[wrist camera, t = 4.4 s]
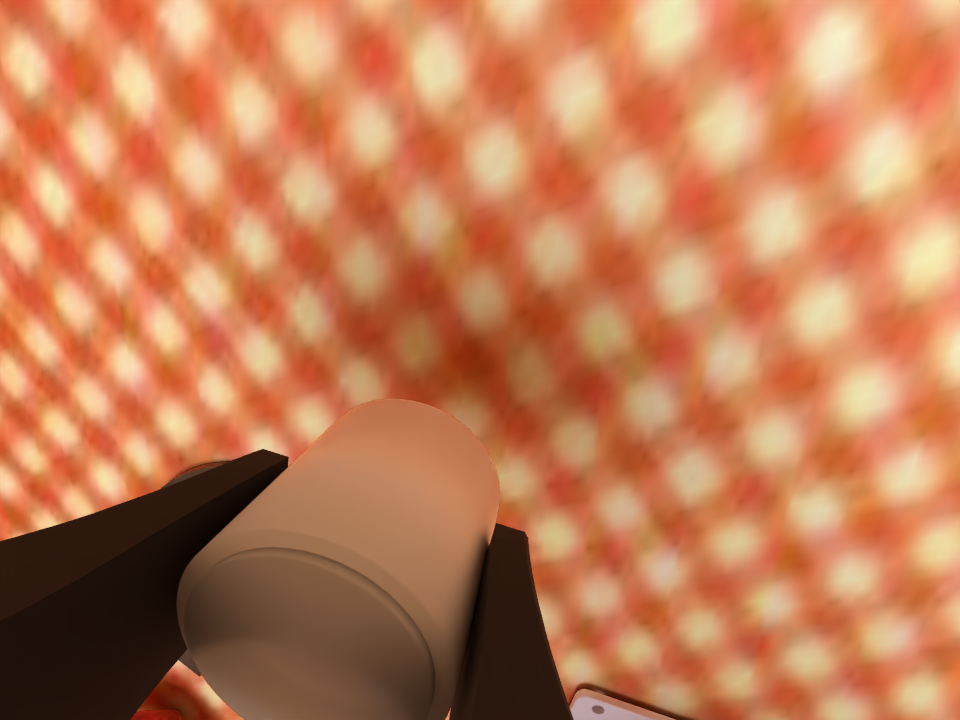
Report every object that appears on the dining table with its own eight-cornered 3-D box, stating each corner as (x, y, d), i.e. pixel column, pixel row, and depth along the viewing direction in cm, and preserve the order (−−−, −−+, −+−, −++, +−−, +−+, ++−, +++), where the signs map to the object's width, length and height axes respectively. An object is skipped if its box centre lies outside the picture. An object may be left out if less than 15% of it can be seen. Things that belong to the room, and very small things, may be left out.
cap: (521, 432, 10) (483, 605, 6) (476, 584, 12) (421, 805, 8) (328, 375, 11) (163, 497, 6) (310, 529, 12) (169, 710, 8)
